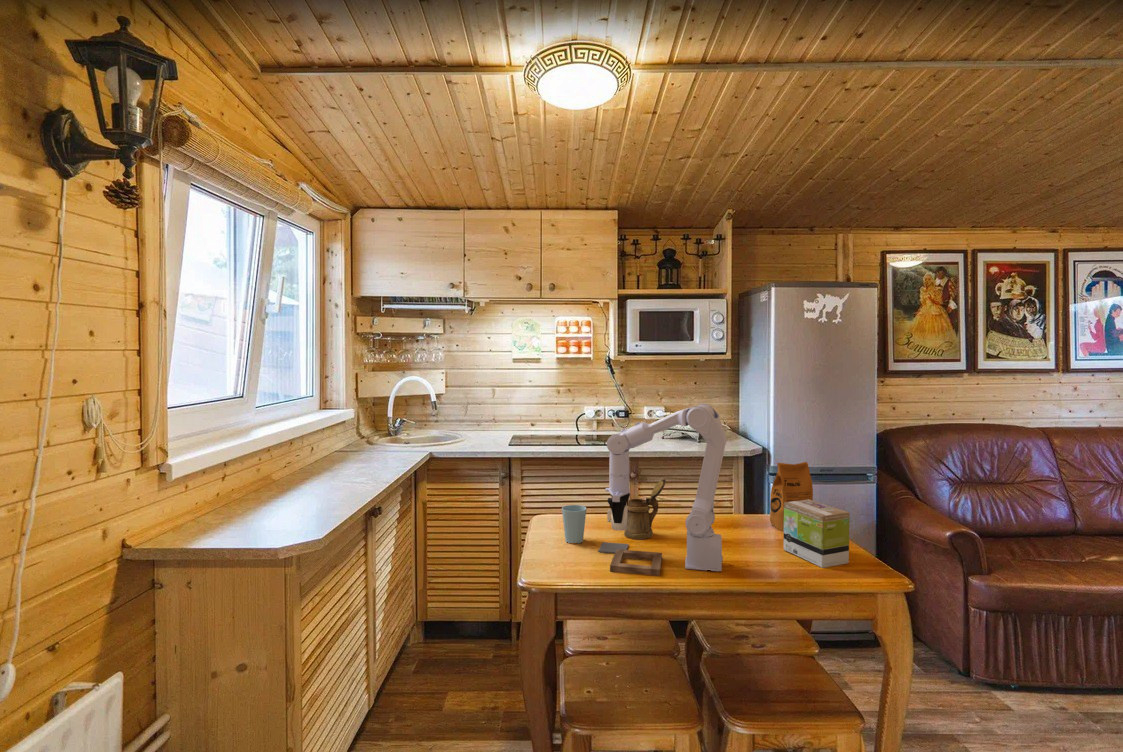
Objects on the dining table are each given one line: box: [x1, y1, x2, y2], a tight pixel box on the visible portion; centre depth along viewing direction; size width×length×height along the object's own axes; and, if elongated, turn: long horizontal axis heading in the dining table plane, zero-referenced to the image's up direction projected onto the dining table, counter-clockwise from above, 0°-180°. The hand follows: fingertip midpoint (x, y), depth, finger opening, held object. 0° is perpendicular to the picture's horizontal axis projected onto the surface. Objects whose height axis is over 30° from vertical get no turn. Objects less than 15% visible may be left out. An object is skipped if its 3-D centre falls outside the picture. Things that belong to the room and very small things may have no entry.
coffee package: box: [769, 461, 814, 532], centre depth 185 cm, size 10×12×22 cm
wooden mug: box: [623, 478, 666, 540], centre depth 177 cm, size 9×14×18 cm, turn 95°
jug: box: [606, 504, 628, 532], centre depth 161 cm, size 6×5×6 cm
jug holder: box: [609, 549, 663, 577], centre depth 152 cm, size 13×13×2 cm
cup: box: [561, 504, 587, 544], centre depth 172 cm, size 8×8×10 cm
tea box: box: [783, 499, 850, 569], centre depth 157 cm, size 15×10×15 cm
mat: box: [597, 541, 630, 555], centre depth 164 cm, size 8×8×1 cm
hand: (618, 520), depth 161 cm, fingers closed on jug, 5 cm apart
